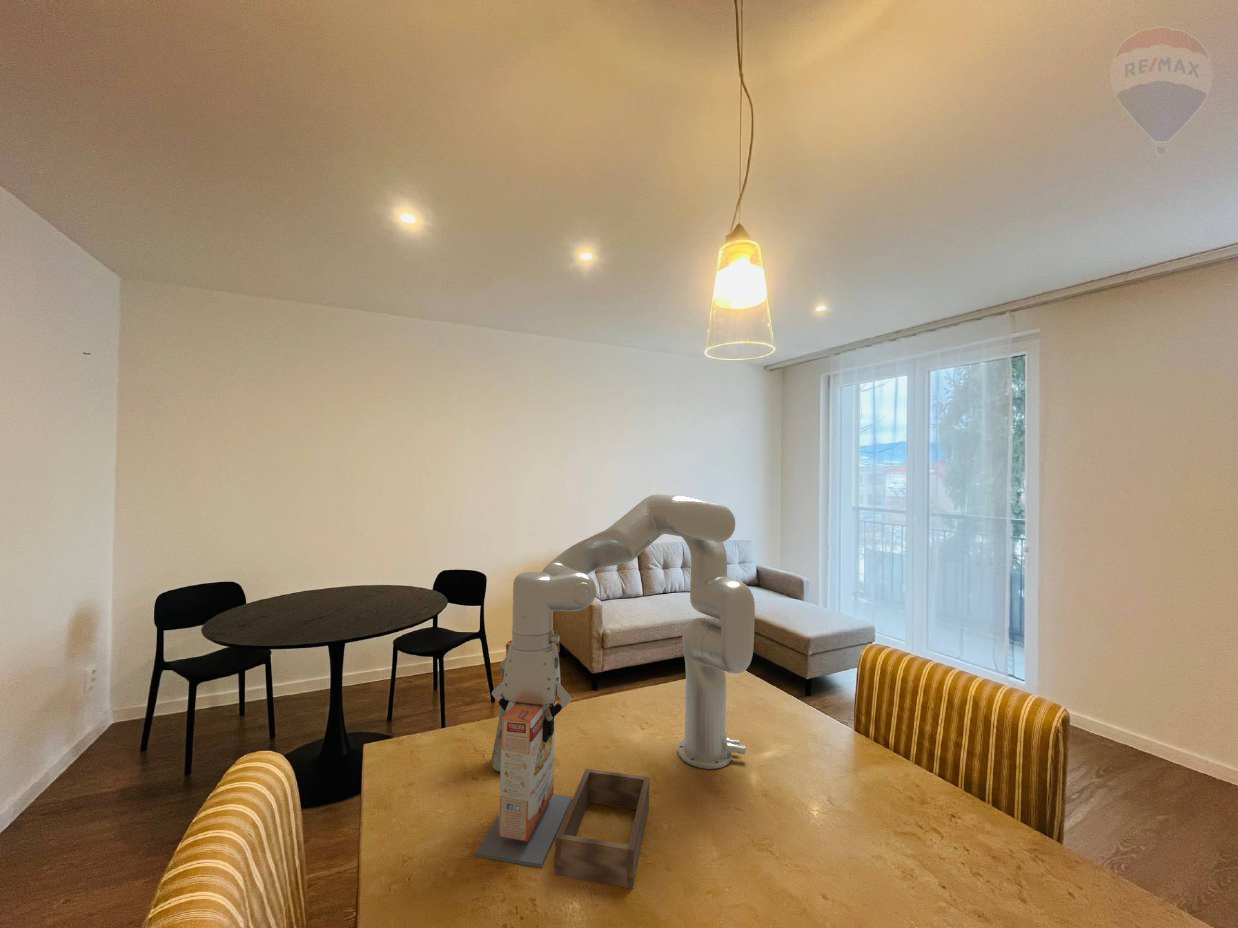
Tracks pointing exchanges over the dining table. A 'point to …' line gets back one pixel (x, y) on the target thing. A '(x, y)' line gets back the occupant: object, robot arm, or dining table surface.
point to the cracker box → (524, 771)
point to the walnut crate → (595, 855)
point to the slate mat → (537, 843)
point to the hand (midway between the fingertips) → (530, 735)
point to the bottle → (499, 724)
